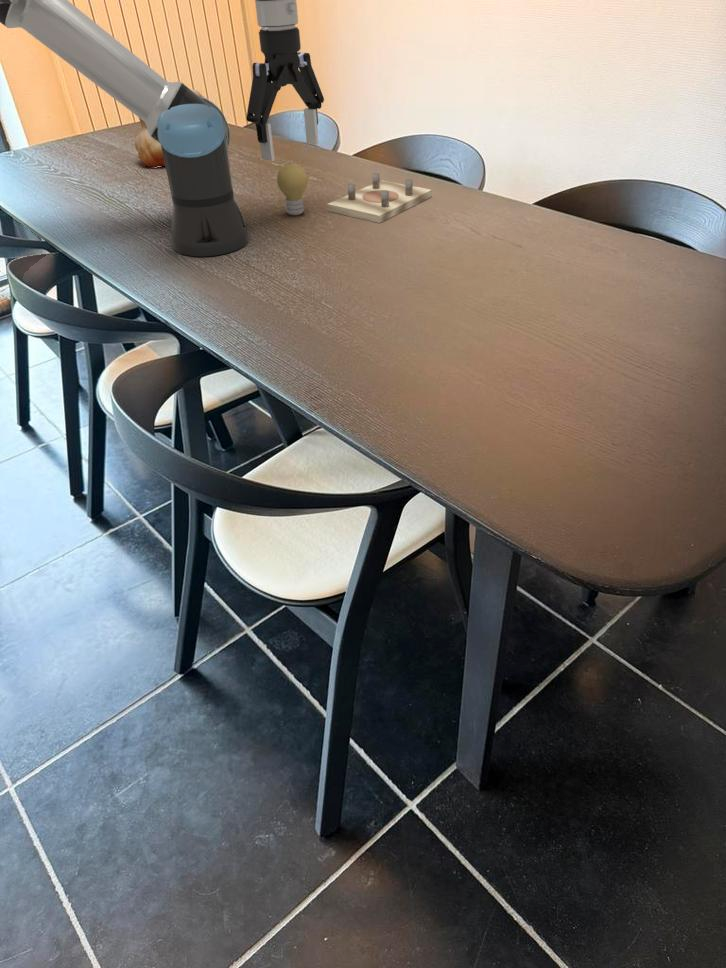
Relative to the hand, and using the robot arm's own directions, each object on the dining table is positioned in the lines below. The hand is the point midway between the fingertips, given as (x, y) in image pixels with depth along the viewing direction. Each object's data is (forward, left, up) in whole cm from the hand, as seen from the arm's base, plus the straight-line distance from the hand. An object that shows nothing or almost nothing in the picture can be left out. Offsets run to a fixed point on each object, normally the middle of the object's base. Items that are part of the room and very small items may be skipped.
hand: (291, 151), depth 138 cm
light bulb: (0, 0, -13) cm, 13 cm away
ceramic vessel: (+18, +58, -13) cm, 62 cm away
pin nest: (+15, -12, -12) cm, 23 cm away
